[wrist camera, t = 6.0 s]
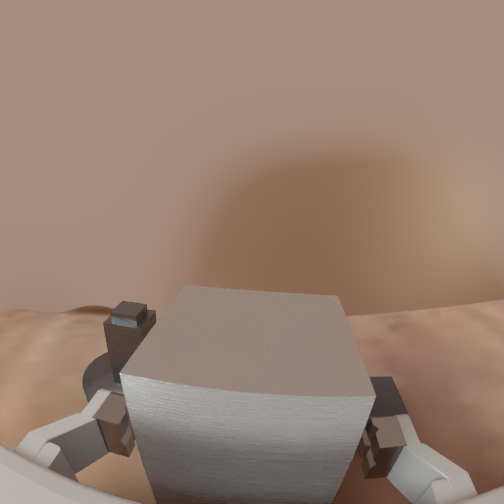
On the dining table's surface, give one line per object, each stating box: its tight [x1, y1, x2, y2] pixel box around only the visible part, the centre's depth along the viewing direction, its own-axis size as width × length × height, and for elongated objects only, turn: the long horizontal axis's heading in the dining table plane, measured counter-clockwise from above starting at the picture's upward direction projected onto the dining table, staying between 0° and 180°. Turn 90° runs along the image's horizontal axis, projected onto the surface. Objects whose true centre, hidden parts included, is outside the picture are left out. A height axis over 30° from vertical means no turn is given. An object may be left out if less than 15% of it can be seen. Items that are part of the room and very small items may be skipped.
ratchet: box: [83, 301, 408, 440], centre depth 17 cm, size 19×7×6 cm, turn 85°
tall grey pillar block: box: [120, 285, 376, 504], centre depth 9 cm, size 5×5×10 cm
